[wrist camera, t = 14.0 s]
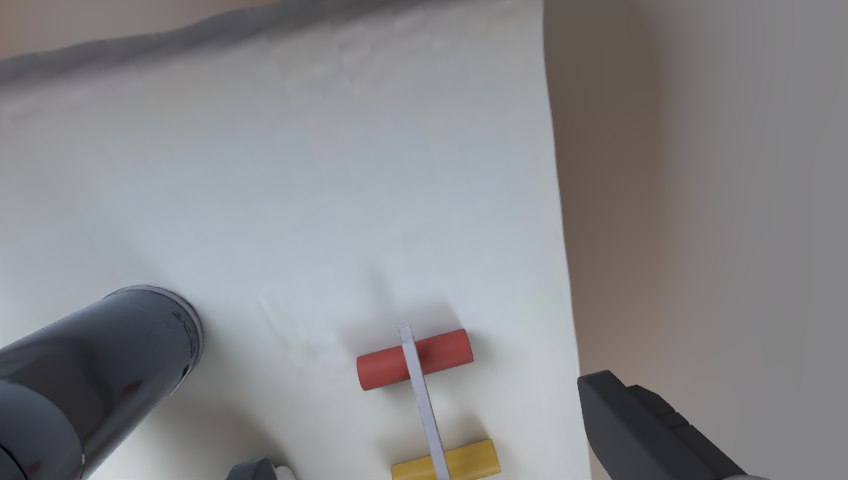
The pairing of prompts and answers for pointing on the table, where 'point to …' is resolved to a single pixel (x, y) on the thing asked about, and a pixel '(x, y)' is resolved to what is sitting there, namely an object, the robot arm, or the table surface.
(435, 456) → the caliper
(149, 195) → the table surface
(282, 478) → the fossil replica
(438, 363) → the red rod
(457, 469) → the yellow rod
